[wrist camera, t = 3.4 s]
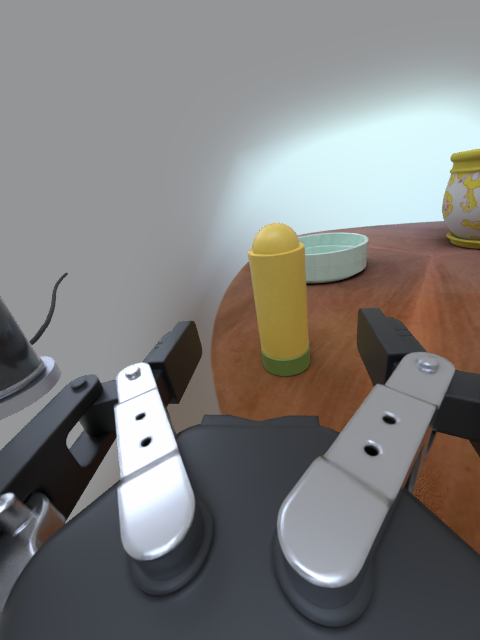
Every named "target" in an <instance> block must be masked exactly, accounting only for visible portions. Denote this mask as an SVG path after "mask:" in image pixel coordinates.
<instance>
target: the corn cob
mask: <svg viewBox="0 0 480 640" xmlns="http://www.w3.org/2000/svg"><path fill="white" fill-rule="evenodd" d="M248 257H249V264H250V271H251V278H252V285H253V292H254V299H255V306H256V313H257V320H258V327H259V334H260V340H261V354H262V361H263V366H264V367H265V369H266V370H267V371H268V372H270V373H272V374H275V375H278V376H293V375H297V374H299V373H301V372H303V371H305V370H306V369H307V368H308V366H309V364H310V344H309V340H308V316H307V292H306V267H305V245H304V244H303V243H301V242H299V239H298V237H297V235H296V233H295V232H294V230H292V228H290V227H289V226H287V225H285V224H281V223H273V224H269V225H266V226H265V227H263V228H262V229H261V230H259V232H258V233H257V234H256V236H255V238H254V241H253V246H252V249H251V250H249V251H248Z"/></svg>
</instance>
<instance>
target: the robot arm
mask: <svg viewBox="0 0 480 640" xmlns="http://www.w3.org/2000/svg"><path fill="white" fill-rule="evenodd" d="M67 274H68V273H65V274H64V275H63V276H62V277H61V278H60V279H59V280H58V281H57V283H56V284H55V287H54V290H53V294H52V302H51V307H50V311H49V314H48V316H47V319H46V321H45V323H44V324H43V326H42V327H41V328H40V330H39V331H38V332H37V334H36V335H35V336H34V337H33V338H32V339H31V340H30V341H29V340H28V339H27V337H26V335H25V334H24V332H23V331H22V329H21V328H20V326H19V325H18V323H17V321H16V320H15V318H14V317H13V315H12V314H11V312H10V311H9V309H8V307H7V306H6V304H5V303H4V301H3V300H2V298H1V296H0V399H2V398H5V397H7V396H9V395H11V394H13V393H15V392H17V391H19V390H20V389H22V388H23V387H25V386H27V385H28V384H30V383H31V382H32V381H33V380H35V379H36V378H37V377H38V376H39V375H40V374H41V373H42V372H43V370H44V368H45V364H44V362H43V361H42V359H41V358H40V357H39V356H38V355H37V353H36V351H35V350H34V348H33V347H32V345H33V344H34V343H35V342H36V341H37V340H38V339H39V338H40V337H41V335H42V334H43V332H44V331H45V329H46V328H47V327H48V325H49V323H50V321H51V318H52V315H53V312H54V308H55V301H56V290H57V287H58V285H59V284H60V282H61V281H62V280H63V278H64V277H65V276H66V275H67ZM357 347H358V351H359V353H360V356H361V358H362V360H363V362H364V365H365V367H366V369H367V372H368V374H369V376H370V378H371V381H372V383H373V385H374V388H373V389H372V391H371V392H370V393H369V395H368V396H367V397H366V399H365V400H364V402H363V403H362V404H361V406H360V407H359V408H358V410H357V411H356V413H355V414H354V415H353V417H352V418H351V419H350V421H349V422H348V424H347V425H346V426H345V428H344V429H343V430H342V432H341V433H339V432H337V431H335V430H333V429H330V428H327V427H324V426H320V425H319V418H318V416H284V417H279V418H274V419H269V420H264V421H253V420H248V419H244V418H240V417H236V416H232V415H204V416H203V419H202V422H201V424H198V425H195V426H192V427H189V428H187V429H185V430H183V431H181V432H179V433H178V434H176V432H175V429H174V426H173V424H172V421H171V418H170V415H169V413H168V410H167V406H168V404H179V402H180V400H181V398H182V396H183V394H184V392H185V390H186V388H187V385H188V383H189V381H190V379H191V377H192V375H193V373H194V371H195V369H196V367H197V365H198V363H199V361H200V358H201V355H202V346H201V342H200V339H199V336H198V331H197V328H196V324H195V322H194V321H184V322H179V323H177V325H176V326H175V327H174V329H173V330H172V331H170V332H169V333H167V334H166V335H164V336H163V337H162V338H161V339H160V341H159V342H158V344H156V346H155V347H154V349H153V350H152V351H151V352H150V353H149V354H148V356H147V357H146V358H145V359H144V361H143V362H142V363H136V364H133V365H130V366H128V367H126V368H125V369H123V370H122V371H121V372H120V373H119V374H118V375H117V377H116V380H112V381H108V382H104V383H100V381H99V379H98V377H97V376H96V375H85V376H82V377H79V378H77V379H75V380H74V381H72V382H70V383H69V384H68V385H66V386H65V387H64V388H63V389H62V390H61V391H60V392H59V393H58V394H57V395H56V396H55V397H54V398H53V399H52V400H51V401H50V402H49V403H48V404H47V405H46V406H45V407H44V408H43V409H42V410H41V411H40V412H39V413H38V414H37V415H36V416H35V417H34V418H33V419H32V420H31V421H30V422H29V423H28V424H27V425H26V426H25V427H24V428H23V429H22V430H21V431H20V432H19V433H18V434H17V435H16V436H15V437H14V438H13V439H12V440H11V441H10V442H9V443H8V444H7V445H6V446H5V447H4V448H3V449H2V450H1V451H0V640H480V555H479V554H478V553H477V552H476V551H475V550H474V549H473V548H472V547H470V546H469V545H468V544H467V543H466V542H465V541H464V540H463V539H462V538H460V537H459V536H458V535H457V534H456V533H455V532H454V531H453V530H452V529H450V528H449V527H448V526H447V525H446V524H445V523H444V522H443V521H442V520H440V519H439V518H438V517H437V516H436V515H435V514H434V513H433V512H432V511H431V510H429V509H428V508H427V507H426V506H425V505H424V504H423V503H422V502H421V501H419V500H418V499H417V498H416V497H415V496H414V493H415V490H416V487H417V484H418V481H419V478H420V475H421V472H422V470H423V467H424V465H425V462H426V460H427V457H428V455H429V453H430V450H431V448H432V445H433V443H434V440H435V438H436V435H437V433H438V432H441V433H445V434H448V435H452V436H456V437H460V438H464V439H468V440H469V441H470V443H471V444H472V446H473V447H474V449H475V450H476V452H477V454H478V455H479V457H480V374H475V373H469V372H463V371H458V370H455V368H454V366H453V364H452V363H451V362H450V361H448V360H447V359H445V358H443V357H441V356H439V355H436V354H432V353H427V352H426V350H425V349H424V348H423V347H422V346H421V345H420V343H419V342H418V341H417V340H416V339H415V337H414V336H412V334H411V333H410V331H408V329H407V328H406V327H405V325H404V324H403V323H402V322H400V321H398V320H396V319H394V318H393V317H387V318H386V317H385V316H384V315H383V313H382V312H381V311H380V309H379V308H378V307H376V308H362V309H359V312H358V326H357ZM78 421H79V422H80V423H81V425H82V426H83V428H84V431H83V432H82V433H81V435H80V436H79V437H78V439H77V440H76V441H75V443H74V444H73V445H72V447H71V448H70V449H68V448H67V445H66V439H67V436H68V434H69V432H70V431H71V429H72V428H73V427H74V426H75V425H76V423H77V422H78ZM116 437H117V444H118V455H119V466H120V477H121V478H120V480H119V481H118V482H117V483H115V484H114V485H113V486H112V487H110V488H109V489H108V490H107V491H105V492H104V493H103V494H102V495H101V496H99V497H98V498H97V499H96V500H94V501H93V502H92V503H91V504H90V505H88V506H87V507H86V508H85V509H83V510H82V511H81V512H80V513H78V514H77V515H76V516H75V517H73V518H72V519H71V520H70V521H69V522H67V523H66V524H65V522H66V520H67V518H68V517H69V515H70V513H71V512H72V510H73V508H74V507H75V505H76V503H77V501H78V500H79V499H80V497H81V495H82V494H83V492H84V490H85V489H86V487H87V485H88V484H89V481H90V480H91V479H92V477H93V475H94V474H95V472H96V470H97V469H98V467H99V465H100V464H101V462H102V460H103V459H104V457H105V455H106V454H107V452H108V450H109V449H110V447H111V445H112V444H113V442H114V440H115V439H116Z"/></svg>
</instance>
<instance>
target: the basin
mask: <svg viewBox="0 0 480 640" xmlns="http://www.w3.org/2000/svg"><path fill="white" fill-rule="evenodd" d="M298 239H299V242H301V243H303V244H304V245H305V267H306V283H326V282H333V281H338V280H342V279H345V278H348V277H351V276H353V275H354V274H356V273H359V272H361V271H362V270H363V269H364V268H365V267H366V264H367V251H368V237H366V236H365V235H361V234H356V233H323V234H314V235H307V236H301V237H298Z"/></svg>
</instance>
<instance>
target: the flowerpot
mask: <svg viewBox="0 0 480 640" xmlns="http://www.w3.org/2000/svg"><path fill="white" fill-rule="evenodd" d="M451 161H452V162H453V168H452V170H451V171H450V173H451V176H450V179H449V182H448V185H447V188H446V191H445V195H444V199H443V207H442V213H443V218H444V221H445V223H446V225H447V227H448V228H449V230H450V231H451V232H449V233H448V234H447V238H449V239H450V240H451V243H453V244H454V245H457V246H461V247H466V248H474V249H480V149H476V150H471V151H465V152H459V153H454V154H452V156H451Z"/></svg>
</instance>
